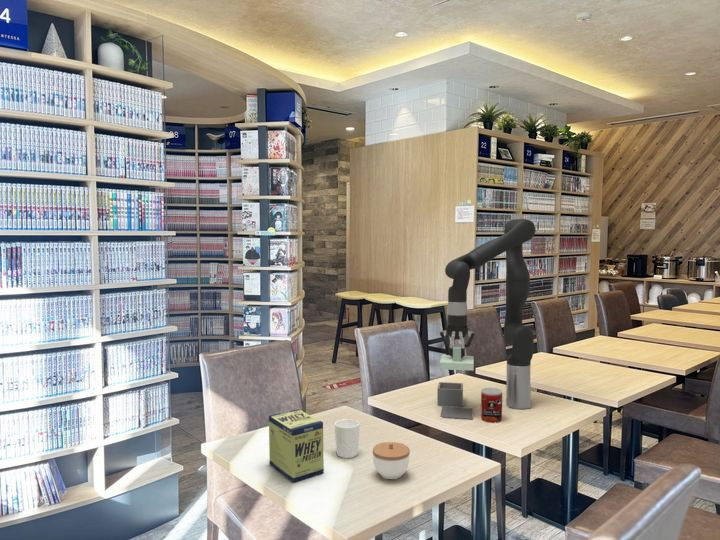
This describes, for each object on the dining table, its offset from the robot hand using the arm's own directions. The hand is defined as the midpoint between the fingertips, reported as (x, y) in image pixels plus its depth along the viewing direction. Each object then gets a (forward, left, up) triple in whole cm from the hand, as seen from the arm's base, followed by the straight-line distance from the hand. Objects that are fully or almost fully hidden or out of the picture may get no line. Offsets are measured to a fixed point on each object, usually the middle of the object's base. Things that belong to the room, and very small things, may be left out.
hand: (457, 357), depth 205 cm
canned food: (-13, +4, -22) cm, 26 cm away
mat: (0, 0, -22) cm, 22 cm away
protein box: (+45, +59, -22) cm, 78 cm away
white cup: (+33, +45, -22) cm, 60 cm away
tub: (+3, -13, -22) cm, 26 cm away
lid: (0, 0, -3) cm, 3 cm away
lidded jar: (+17, +57, -22) cm, 64 cm away
